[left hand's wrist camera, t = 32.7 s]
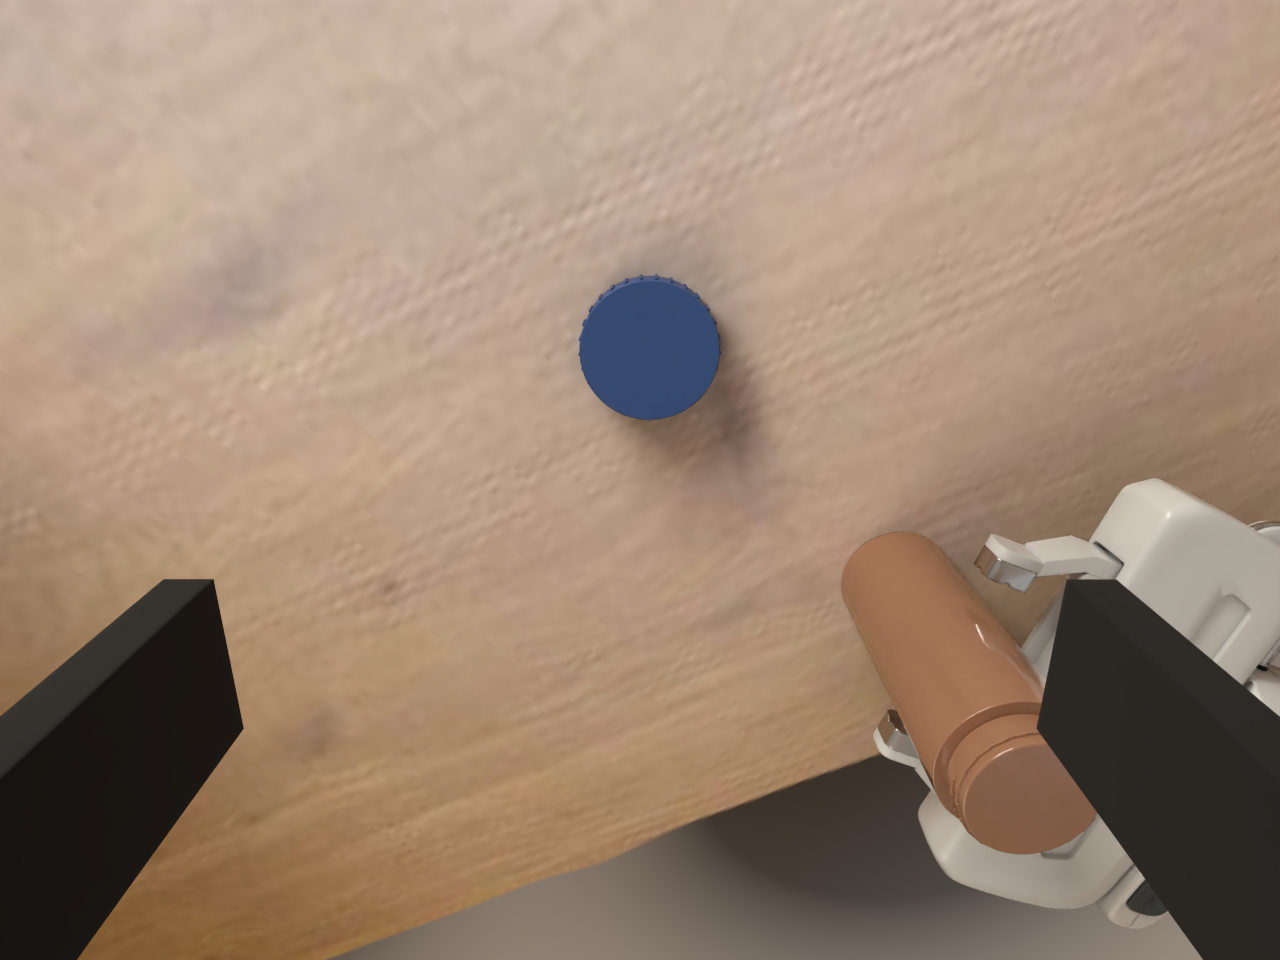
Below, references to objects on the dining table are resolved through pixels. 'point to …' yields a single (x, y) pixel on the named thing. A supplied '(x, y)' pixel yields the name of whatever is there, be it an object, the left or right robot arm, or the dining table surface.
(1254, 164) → the dining table surface
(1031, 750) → the jar
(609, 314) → the lid
